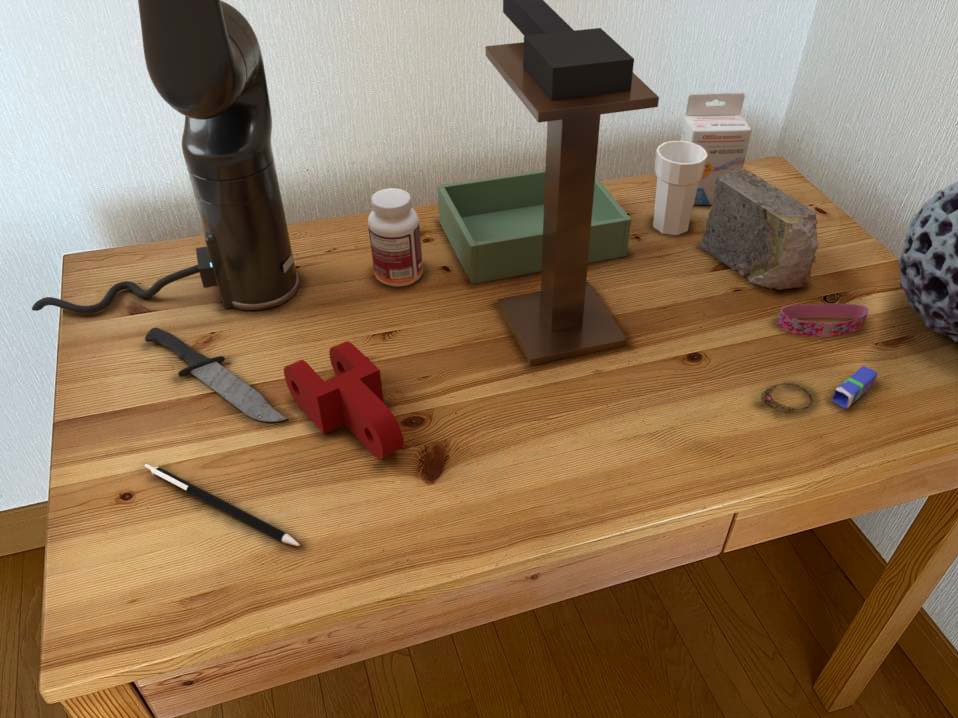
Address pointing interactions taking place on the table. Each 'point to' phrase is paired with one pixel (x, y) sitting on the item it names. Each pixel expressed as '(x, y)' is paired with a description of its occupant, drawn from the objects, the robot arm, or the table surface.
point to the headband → (805, 328)
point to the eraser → (854, 387)
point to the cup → (677, 184)
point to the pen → (222, 505)
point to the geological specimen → (761, 231)
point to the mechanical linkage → (347, 399)
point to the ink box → (716, 137)
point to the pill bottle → (395, 238)
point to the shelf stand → (564, 218)
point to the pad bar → (568, 53)
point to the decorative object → (933, 262)
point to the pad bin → (518, 224)
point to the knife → (217, 377)
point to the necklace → (769, 400)
